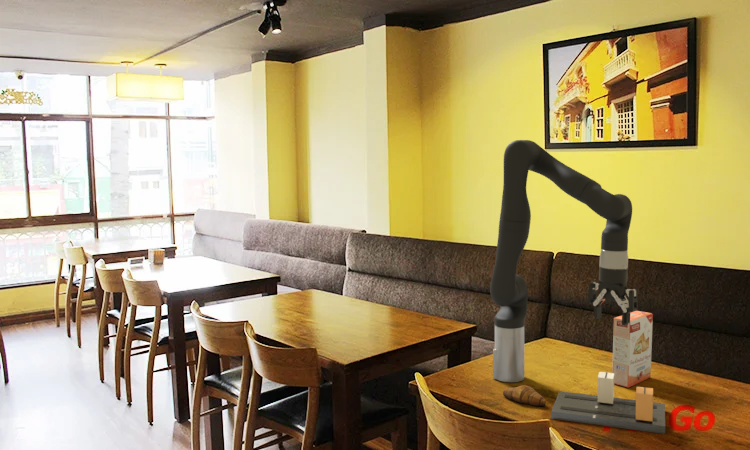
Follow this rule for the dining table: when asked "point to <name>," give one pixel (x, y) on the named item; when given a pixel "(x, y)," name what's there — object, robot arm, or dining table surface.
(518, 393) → the croissant
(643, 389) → the orange block
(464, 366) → the dining table surface
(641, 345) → the cracker box
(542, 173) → the robot arm
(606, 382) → the ivory fader
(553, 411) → the console
